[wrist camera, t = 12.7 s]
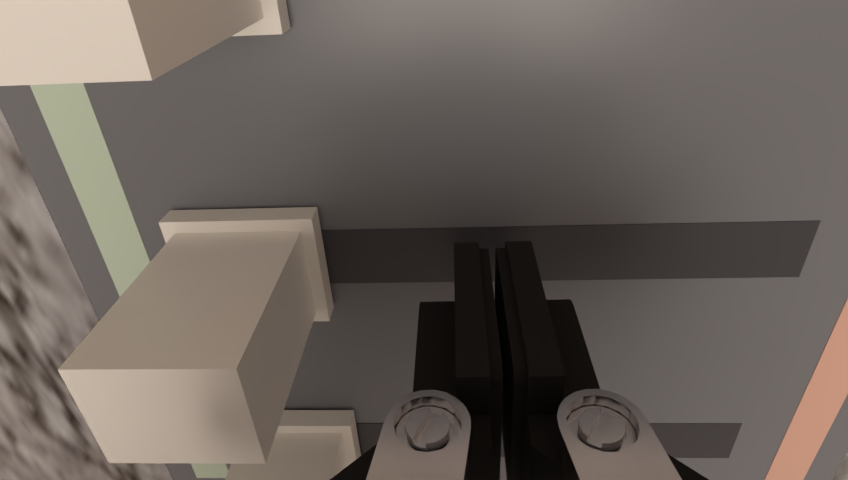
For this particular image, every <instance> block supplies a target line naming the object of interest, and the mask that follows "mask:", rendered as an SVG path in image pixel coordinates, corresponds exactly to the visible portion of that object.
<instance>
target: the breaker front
mask: <svg viewBox="0 0 848 480" xmlns="http://www.w3.org/2000/svg"><path fill="white" fill-rule="evenodd" d="M289 29H291V28H290V22H289V16H288V10H287V4H286V0H0V86H16V85H43V84H70V83H98V82H125V81H152V80H154V79H156V78H158V77H159V76H161V75H163V74H165V73H167V72H168V71H170V70H172V69H174V68H176V67H177V66H179V65H181V64H183V63H184V62H186V61H188V60H190V59H192V58H193V57H195V56H197V55H199V54H200V53H202V52H204V51H206V50H208V49H209V48H211V47H213V46H215V45H217V44H218V43H220V42H222V41H224V40H225V39H227V38H229V37H231V36H253V35H277V34H284V33H285V32H286V31H288V30H289Z"/></svg>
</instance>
